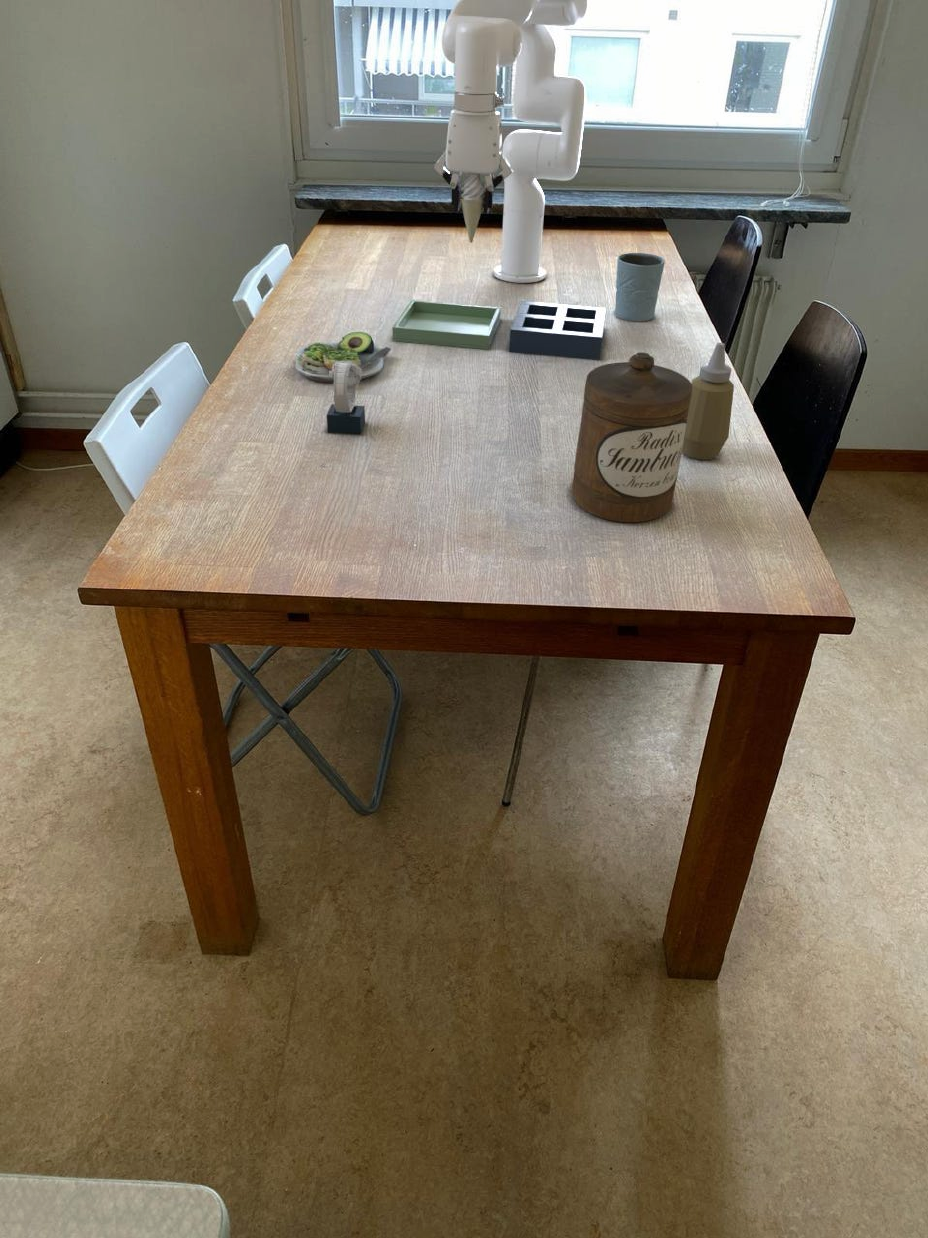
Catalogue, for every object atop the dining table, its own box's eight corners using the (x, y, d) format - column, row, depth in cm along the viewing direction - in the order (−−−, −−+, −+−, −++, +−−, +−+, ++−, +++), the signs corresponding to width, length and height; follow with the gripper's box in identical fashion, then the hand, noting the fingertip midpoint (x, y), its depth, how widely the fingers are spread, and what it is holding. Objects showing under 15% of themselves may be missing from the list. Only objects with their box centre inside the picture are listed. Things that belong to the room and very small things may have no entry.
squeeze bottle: (729, 447, 151) (752, 340, 140) (718, 468, 145) (742, 357, 134) (680, 437, 153) (700, 331, 143) (668, 457, 147) (687, 347, 137)
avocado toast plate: (389, 390, 165) (388, 365, 163) (289, 389, 165) (287, 364, 162) (391, 351, 181) (391, 328, 178) (300, 349, 180) (298, 326, 177)
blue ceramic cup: (636, 325, 197) (644, 268, 190) (600, 312, 203) (607, 256, 196) (665, 316, 203) (674, 260, 195) (630, 304, 209) (638, 249, 201)
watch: (367, 418, 156) (364, 355, 149) (359, 439, 149) (356, 374, 143) (334, 416, 156) (330, 353, 150) (325, 437, 150) (320, 372, 143)
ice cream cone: (484, 239, 181) (488, 155, 172) (482, 246, 177) (486, 161, 168) (459, 237, 182) (461, 154, 173) (456, 244, 178) (458, 159, 169)
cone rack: (519, 321, 197) (521, 300, 194) (603, 329, 195) (606, 307, 192) (508, 351, 183) (510, 329, 180) (599, 359, 181) (602, 337, 178)
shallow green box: (411, 312, 200) (411, 299, 198) (500, 320, 197) (500, 307, 196) (392, 340, 186) (392, 327, 184) (488, 349, 183) (488, 335, 182)
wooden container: (603, 531, 128) (625, 381, 115) (553, 483, 139) (568, 341, 126) (692, 512, 133) (722, 366, 120) (637, 467, 144) (659, 329, 131)
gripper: (524, 102, 167) (518, 209, 178) (432, 97, 169) (432, 203, 180) (519, 109, 161) (513, 218, 172) (424, 103, 163) (424, 212, 174)
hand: (471, 209), depth 176 cm, fingers closed on ice cream cone, 5 cm apart
